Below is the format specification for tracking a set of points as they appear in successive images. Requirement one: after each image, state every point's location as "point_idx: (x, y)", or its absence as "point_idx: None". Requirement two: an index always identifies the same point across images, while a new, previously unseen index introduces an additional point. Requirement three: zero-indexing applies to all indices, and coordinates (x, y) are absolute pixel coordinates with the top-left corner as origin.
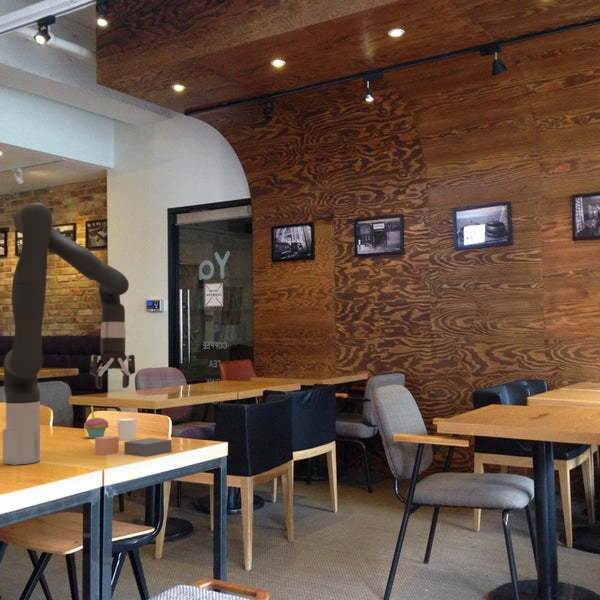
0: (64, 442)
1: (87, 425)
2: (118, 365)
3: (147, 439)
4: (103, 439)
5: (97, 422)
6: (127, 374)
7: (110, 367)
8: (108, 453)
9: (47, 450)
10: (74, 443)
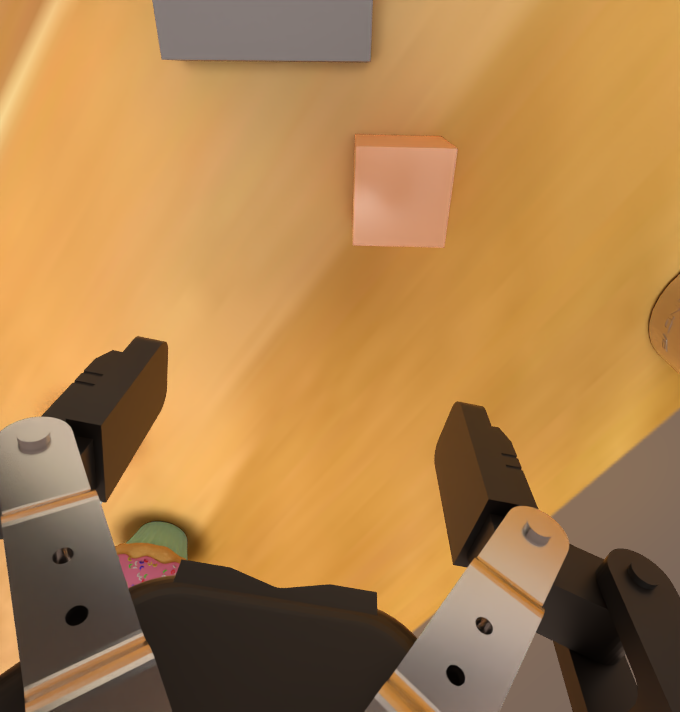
0: (296, 539)
1: None
2: (170, 621)
3: (216, 1)
4: (454, 163)
5: (152, 571)
6: (57, 432)
7: (360, 614)
8: (420, 136)
9: None
10: (290, 500)
